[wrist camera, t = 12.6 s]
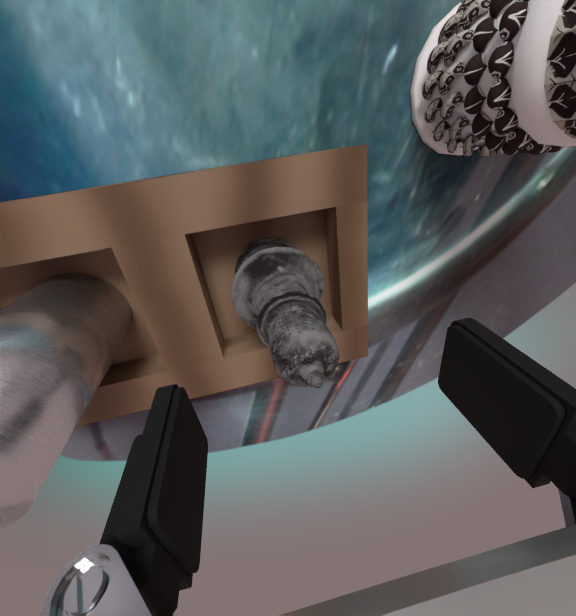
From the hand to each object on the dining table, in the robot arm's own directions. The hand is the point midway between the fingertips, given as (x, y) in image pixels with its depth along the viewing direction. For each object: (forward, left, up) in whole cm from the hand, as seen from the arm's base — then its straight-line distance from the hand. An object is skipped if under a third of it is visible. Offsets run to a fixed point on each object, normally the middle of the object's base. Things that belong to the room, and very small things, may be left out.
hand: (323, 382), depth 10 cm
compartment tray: (+7, +1, -14) cm, 15 cm away
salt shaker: (0, 0, -12) cm, 12 cm away
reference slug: (+13, +1, -12) cm, 18 cm away
